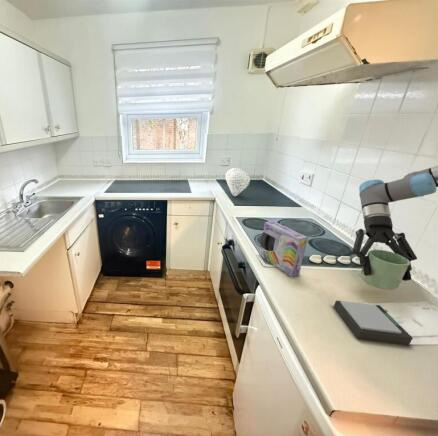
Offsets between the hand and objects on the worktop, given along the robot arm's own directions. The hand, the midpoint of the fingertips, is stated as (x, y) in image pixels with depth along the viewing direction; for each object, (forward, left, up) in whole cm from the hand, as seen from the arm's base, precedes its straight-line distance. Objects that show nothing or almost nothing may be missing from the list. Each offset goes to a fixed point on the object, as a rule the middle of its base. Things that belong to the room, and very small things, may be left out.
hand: (387, 277), depth 81 cm
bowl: (+1, -3, -4) cm, 5 cm away
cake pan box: (+33, -5, -9) cm, 35 cm away
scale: (+5, +17, -9) cm, 20 cm away
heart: (+75, -98, -9) cm, 123 cm away
